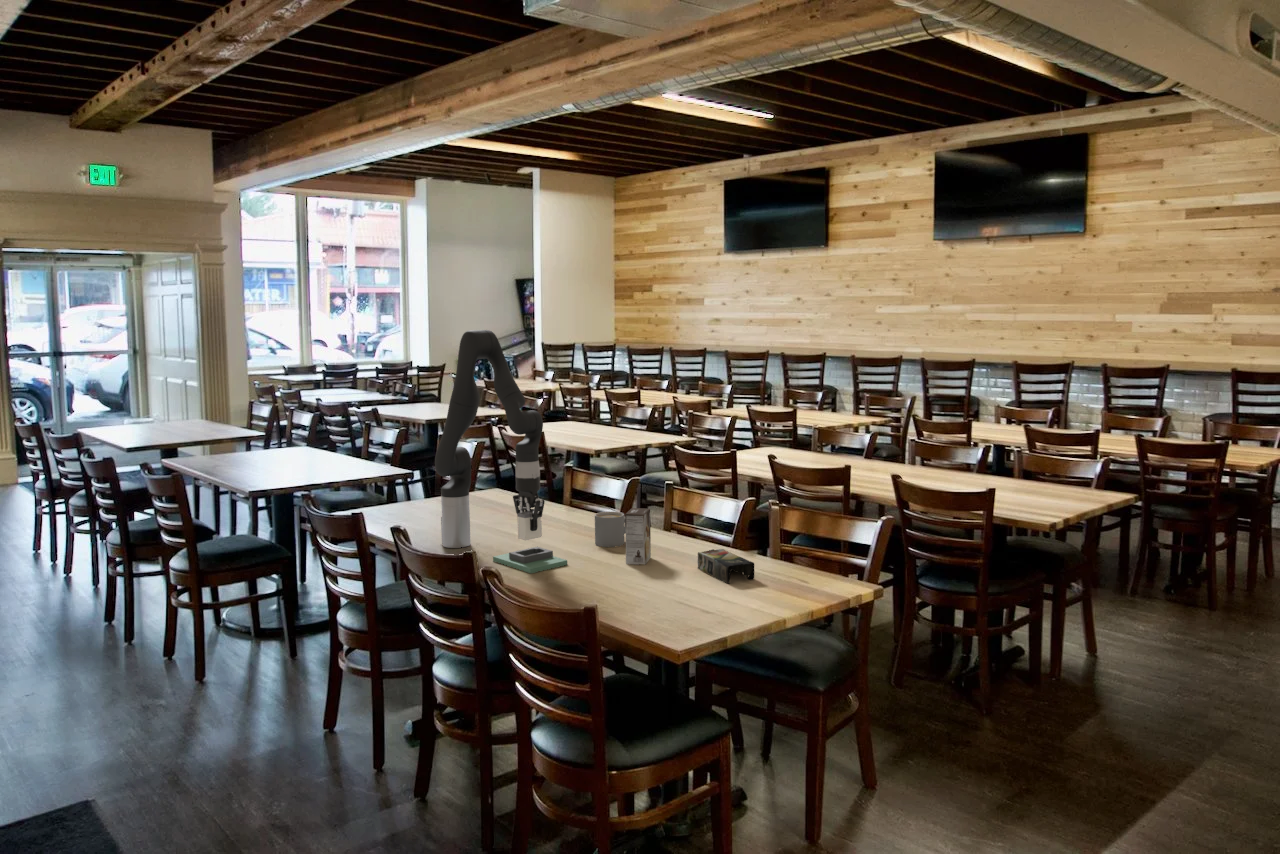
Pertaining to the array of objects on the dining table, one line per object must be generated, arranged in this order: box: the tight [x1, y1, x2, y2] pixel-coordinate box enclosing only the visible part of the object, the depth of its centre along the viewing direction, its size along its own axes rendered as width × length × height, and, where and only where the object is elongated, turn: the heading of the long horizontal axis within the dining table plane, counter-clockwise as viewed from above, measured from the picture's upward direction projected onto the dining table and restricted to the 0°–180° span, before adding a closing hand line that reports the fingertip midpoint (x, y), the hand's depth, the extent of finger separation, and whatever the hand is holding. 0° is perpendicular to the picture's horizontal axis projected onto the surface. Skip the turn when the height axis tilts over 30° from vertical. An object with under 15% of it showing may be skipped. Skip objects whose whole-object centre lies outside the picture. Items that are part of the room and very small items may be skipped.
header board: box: [492, 546, 568, 574], centre depth 305 cm, size 20×14×4 cm
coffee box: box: [624, 507, 652, 566], centre depth 306 cm, size 9×6×16 cm
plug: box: [516, 511, 543, 541], centre depth 304 cm, size 4×7×8 cm, turn 133°
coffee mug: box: [594, 511, 626, 548], centre depth 330 cm, size 13×10×10 cm
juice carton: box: [697, 548, 755, 585], centre depth 291 cm, size 20×10×6 cm, turn 24°
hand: (529, 529), depth 304 cm, fingers closed on plug, 4 cm apart
